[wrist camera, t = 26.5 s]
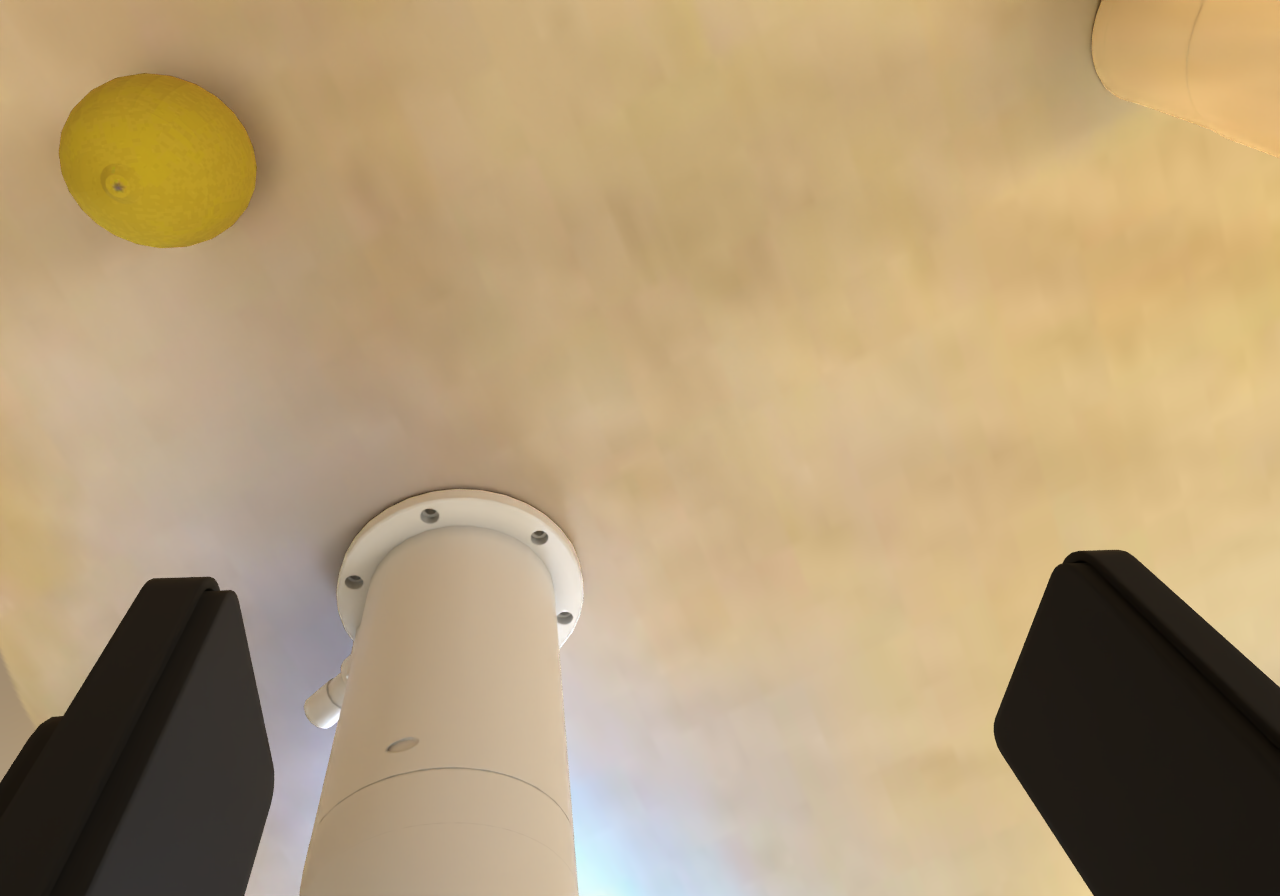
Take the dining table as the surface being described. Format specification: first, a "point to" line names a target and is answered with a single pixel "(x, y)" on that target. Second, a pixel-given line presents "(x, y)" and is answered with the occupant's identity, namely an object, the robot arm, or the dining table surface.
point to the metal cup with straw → (1196, 63)
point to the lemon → (157, 161)
